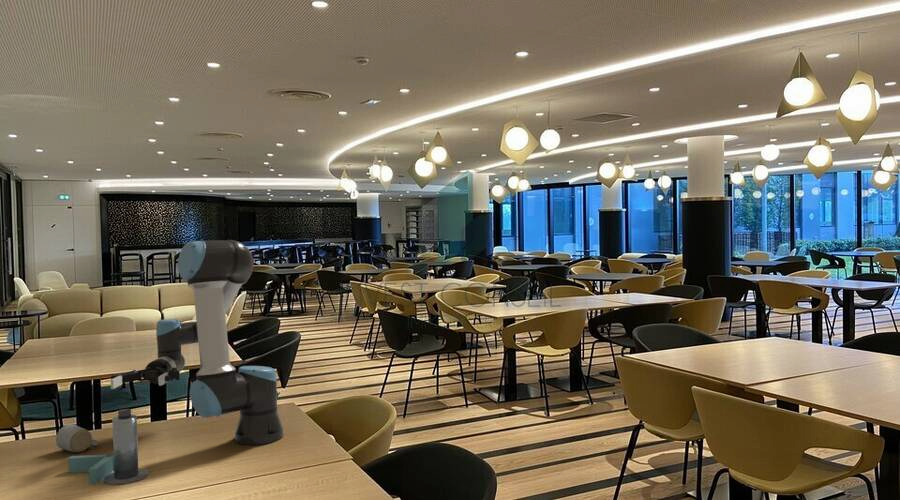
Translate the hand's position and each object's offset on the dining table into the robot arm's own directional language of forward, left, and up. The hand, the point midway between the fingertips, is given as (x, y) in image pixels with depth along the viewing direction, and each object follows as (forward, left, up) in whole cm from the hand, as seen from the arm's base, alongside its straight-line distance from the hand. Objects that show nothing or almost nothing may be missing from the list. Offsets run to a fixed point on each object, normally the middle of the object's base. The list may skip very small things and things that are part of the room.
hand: (135, 382), depth 194 cm
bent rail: (+9, +13, -23) cm, 28 cm away
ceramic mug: (+22, -12, -23) cm, 34 cm away
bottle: (-2, +15, -22) cm, 27 cm away
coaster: (-2, +15, -23) cm, 27 cm away
